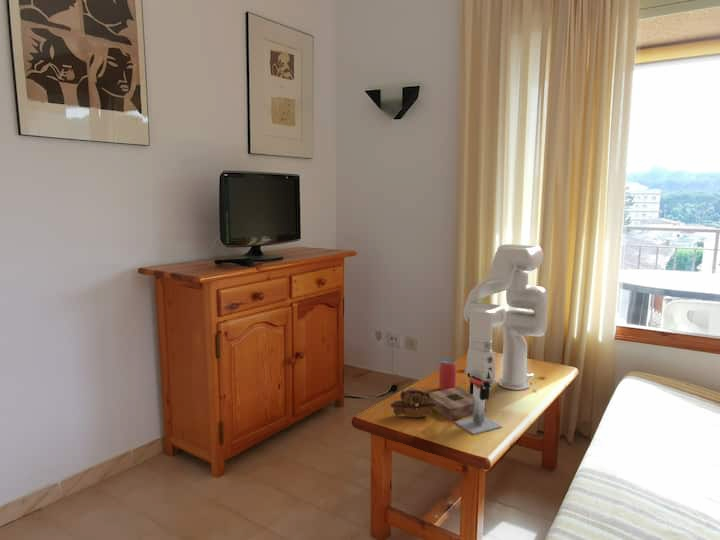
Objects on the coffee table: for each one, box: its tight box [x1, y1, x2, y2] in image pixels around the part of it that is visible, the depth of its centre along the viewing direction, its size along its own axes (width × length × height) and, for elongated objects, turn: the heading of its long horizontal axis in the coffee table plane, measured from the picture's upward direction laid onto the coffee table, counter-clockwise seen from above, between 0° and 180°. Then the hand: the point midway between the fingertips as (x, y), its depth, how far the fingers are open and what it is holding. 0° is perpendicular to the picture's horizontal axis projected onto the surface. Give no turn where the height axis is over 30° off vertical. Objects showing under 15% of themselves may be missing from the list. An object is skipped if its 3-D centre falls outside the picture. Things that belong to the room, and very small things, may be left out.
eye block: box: [428, 386, 487, 421], centre depth 192 cm, size 16×16×4 cm
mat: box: [454, 415, 503, 436], centre depth 177 cm, size 12×10×1 cm
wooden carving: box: [390, 387, 437, 419], centre depth 184 cm, size 16×5×10 cm, turn 95°
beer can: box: [438, 358, 457, 391], centre depth 209 cm, size 7×7×12 cm
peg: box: [468, 376, 488, 423], centre depth 176 cm, size 7×7×15 cm
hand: (479, 395), depth 176 cm, fingers closed on peg, 4 cm apart
